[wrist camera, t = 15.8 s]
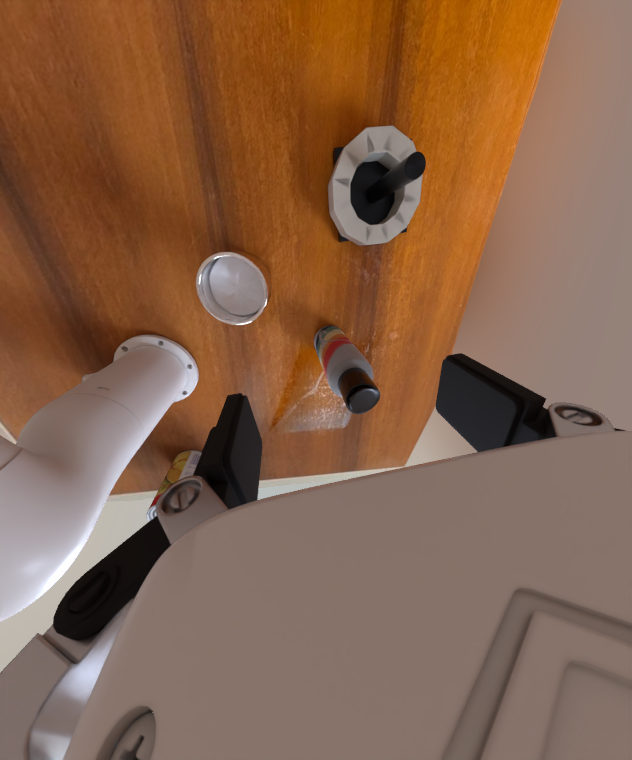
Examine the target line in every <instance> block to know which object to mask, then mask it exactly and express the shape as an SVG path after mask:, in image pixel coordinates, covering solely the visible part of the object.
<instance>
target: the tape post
mask: <svg viewBox="0 0 632 760" xmlns="http://www.w3.org/2000/svg"><path fill="white" fill-rule="evenodd" d="M410 140H411V141H412V139H410ZM343 149H344V147H339V148H334V150H333V163H334V167H335V165H336V162H337V159H338V157H339V155H340V154H341V152H342V150H343ZM425 165H426V161H425V157H424V155H423V154H422V153H420V152H414V153H412V154H411V155H409V156H408V157H407V158H406V159H404V160H403V161H402V162H400V163H399V164H398V165H396V166H395V167H394V168H393V169H391V170H389V169H388V168H386V167H385V166H384V165H382V164H381V163H380V162H378V161H371V162H363V163H362V164H361V165H360V166H358V167H357V168H356V171H355V173H354V175H353V178H352V180H351V183H350V200H351V205H352V207H353V209H354V211H355V213H356V215H357V217H358V218H359V219H361V220H362V221H364V222H366V223H367V224H369V225H376V224H379V223H380V222H382V221H383V220H384V219H385V218H387V216H388V214H389V212H390V210H391V208H392V206H393V204H394V198H395V191H397V190H398V189H400V188H402V187H404V186H406V185H407V184H409V183H411V182H413V181H414V180H416V179H418V178H419V177H420V176H421V175H422V174H423V172H424V170H425ZM404 232H407V227H406V228H405V229H404V230H402V231H401V232H400V233H404ZM338 237H339V242H343V241H349V240H348V239H347V238H345V237H343V236H341V234H340V232H339V231H338Z"/></svg>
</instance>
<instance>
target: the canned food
mask: <svg viewBox="0 0 632 760" xmlns="http://www.w3.org/2000/svg"><path fill="white" fill-rule="evenodd" d="M201 453H202V452H200V451H194V450H191V451H185V452H182V453H180V454H178V455H177V456H176V458H175V460H174V462H173V464H172V466H171V467H170V469H169V471H168V473H167V475H166V477H165V479H164V481H163V483H162V485H161V487H160V489H159V491H158V493H157V494H156V496H155V498H154V500H153V502H152V504H151V506H150V508H149V510H148V512H147V519H148V521H151V520H152V519H153V518H154V517H156V516H157V515H156V510H155V508H156V504H157V501H158V499H159V498H160V496H161V494H162V493H163V492H164V491H165V490H166V489H167V488H168V487H169V486H171V485H172V484H173V483H175V482H176V481H178V480H180V479H182V478H185V477H187V476H193V473H194V471H195V468H196V466H197V463H198V461H199V458H200V456H201Z"/></svg>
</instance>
